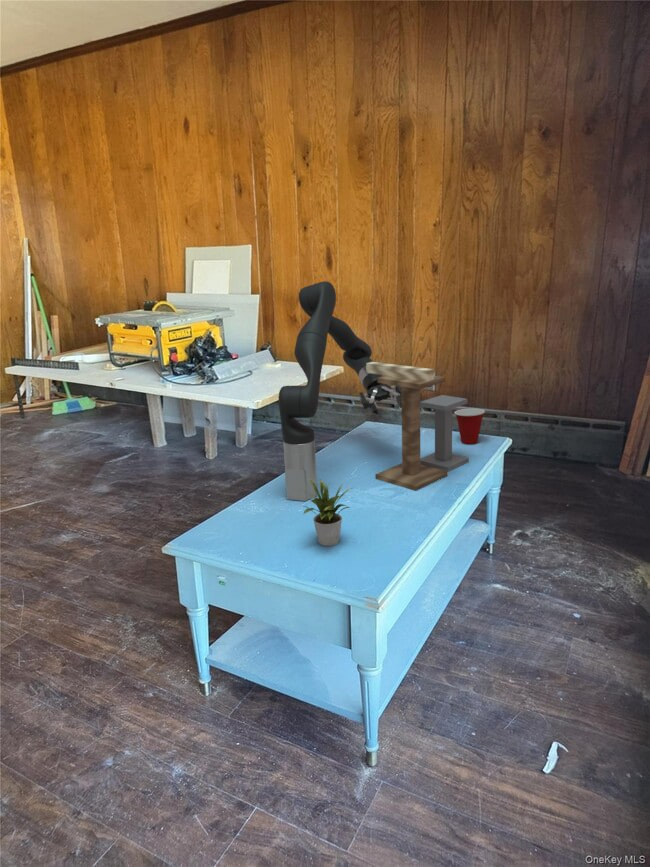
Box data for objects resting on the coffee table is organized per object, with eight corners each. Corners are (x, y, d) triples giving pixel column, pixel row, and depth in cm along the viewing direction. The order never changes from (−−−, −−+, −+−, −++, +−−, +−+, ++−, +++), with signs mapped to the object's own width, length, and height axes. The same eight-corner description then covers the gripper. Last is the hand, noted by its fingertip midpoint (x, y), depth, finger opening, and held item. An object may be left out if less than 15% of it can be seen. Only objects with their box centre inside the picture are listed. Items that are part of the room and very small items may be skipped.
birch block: (434, 379, 175) (434, 369, 174) (427, 381, 173) (427, 370, 172) (372, 371, 192) (372, 361, 191) (366, 372, 190) (366, 363, 189)
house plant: (284, 541, 150) (279, 480, 145) (323, 523, 159) (320, 465, 155) (323, 559, 140) (320, 495, 136) (363, 539, 149) (361, 478, 145)
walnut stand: (447, 475, 188) (448, 375, 179) (415, 490, 178) (415, 385, 168) (407, 465, 199) (406, 370, 190) (375, 478, 189) (372, 379, 180)
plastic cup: (466, 436, 227) (466, 405, 223) (490, 441, 219) (491, 410, 215) (447, 442, 220) (448, 411, 217) (471, 448, 212) (472, 416, 209)
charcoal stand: (468, 462, 199) (470, 399, 193) (447, 471, 191) (448, 406, 185) (439, 454, 208) (439, 394, 201) (417, 463, 200) (417, 401, 194)
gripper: (352, 377, 202) (368, 406, 190) (391, 366, 204) (409, 394, 192) (353, 394, 207) (369, 423, 196) (392, 383, 209) (410, 411, 197)
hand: (389, 409), depth 194 cm, fingers open, 8 cm apart
